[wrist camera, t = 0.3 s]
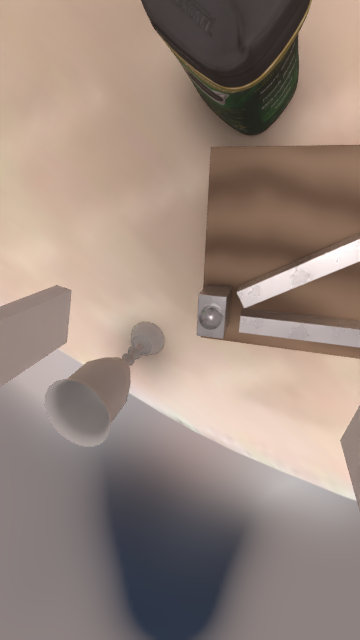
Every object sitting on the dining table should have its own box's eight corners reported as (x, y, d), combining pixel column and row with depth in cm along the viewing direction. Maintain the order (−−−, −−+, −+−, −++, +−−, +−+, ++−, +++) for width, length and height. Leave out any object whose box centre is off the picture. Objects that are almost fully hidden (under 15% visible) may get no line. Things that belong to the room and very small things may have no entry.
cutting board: (213, 149, 35) (211, 147, 34) (553, 144, 28) (567, 142, 26) (203, 332, 43) (200, 337, 41) (466, 367, 35) (473, 374, 34)
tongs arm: (246, 300, 38) (244, 308, 35) (239, 285, 37) (236, 292, 35) (494, 197, 28) (517, 196, 26) (488, 176, 28) (510, 173, 25)
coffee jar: (312, 74, 30) (358, -83, 14) (255, 149, 34) (236, 97, 17) (236, 7, 30) (189, -235, 14) (186, 89, 34) (99, -23, 17)
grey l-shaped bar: (205, 320, 40) (195, 338, 35) (207, 283, 39) (197, 296, 33) (470, 352, 33) (507, 380, 28) (487, 309, 32) (529, 330, 27)
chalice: (174, 360, 45) (119, 448, 29) (132, 362, 48) (58, 445, 31) (164, 312, 43) (98, 377, 27) (120, 316, 45) (34, 380, 29)
